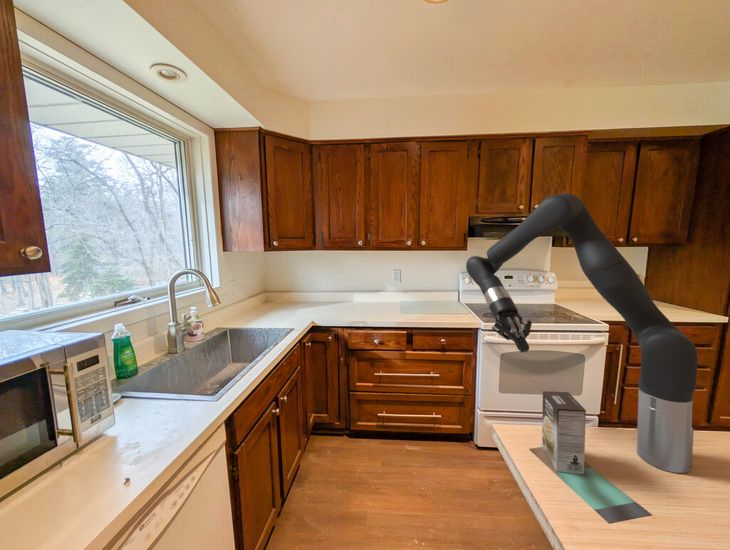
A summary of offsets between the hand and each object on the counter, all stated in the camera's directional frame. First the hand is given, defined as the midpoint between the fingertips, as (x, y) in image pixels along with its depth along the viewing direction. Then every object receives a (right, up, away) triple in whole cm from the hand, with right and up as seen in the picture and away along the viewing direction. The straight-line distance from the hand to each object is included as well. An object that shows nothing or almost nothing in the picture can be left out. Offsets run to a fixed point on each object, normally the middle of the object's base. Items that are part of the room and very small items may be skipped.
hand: (525, 351), depth 85 cm
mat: (+4, -25, -17) cm, 31 cm away
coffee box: (+3, -25, -11) cm, 28 cm away
